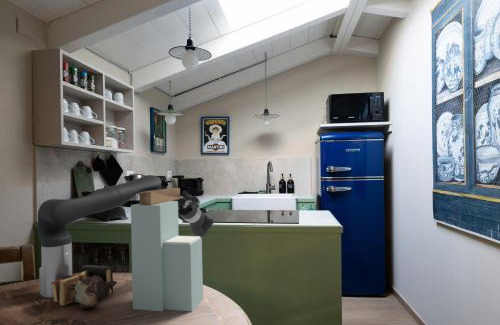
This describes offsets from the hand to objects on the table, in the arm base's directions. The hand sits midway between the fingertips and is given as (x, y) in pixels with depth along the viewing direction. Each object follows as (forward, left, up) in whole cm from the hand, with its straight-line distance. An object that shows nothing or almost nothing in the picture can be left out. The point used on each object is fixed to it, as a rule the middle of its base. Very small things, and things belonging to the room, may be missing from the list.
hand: (172, 193), depth 113 cm
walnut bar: (0, -7, -2) cm, 8 cm away
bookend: (-22, -15, -35) cm, 44 cm away
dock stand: (+4, -11, -34) cm, 36 cm away
